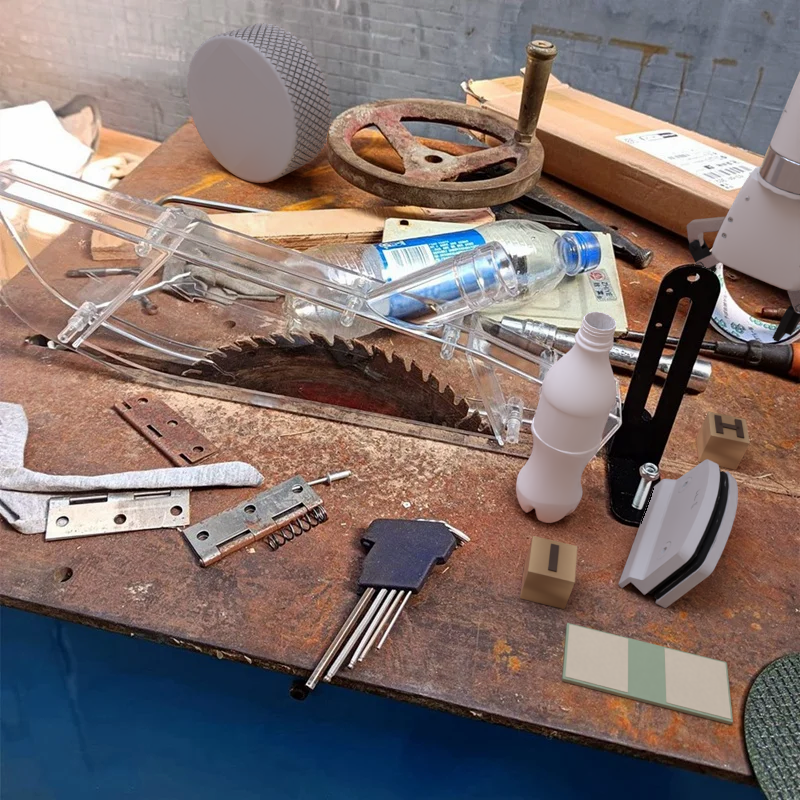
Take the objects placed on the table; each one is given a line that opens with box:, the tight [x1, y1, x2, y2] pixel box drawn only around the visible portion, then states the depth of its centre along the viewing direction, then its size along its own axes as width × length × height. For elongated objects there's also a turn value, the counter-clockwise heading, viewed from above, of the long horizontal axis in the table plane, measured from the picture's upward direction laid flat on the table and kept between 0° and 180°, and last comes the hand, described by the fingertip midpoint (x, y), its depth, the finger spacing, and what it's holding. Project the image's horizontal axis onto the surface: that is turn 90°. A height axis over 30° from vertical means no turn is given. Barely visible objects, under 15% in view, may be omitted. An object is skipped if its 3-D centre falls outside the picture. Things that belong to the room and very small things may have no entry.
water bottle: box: [515, 311, 617, 524], centre depth 77 cm, size 7×7×25 cm
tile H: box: [695, 411, 751, 471], centre depth 92 cm, size 4×4×5 cm
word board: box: [561, 622, 734, 725], centre depth 70 cm, size 15×6×1 cm, turn 77°
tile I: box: [519, 535, 579, 610], centre depth 75 cm, size 4×4×5 cm
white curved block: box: [618, 459, 739, 609], centre depth 79 cm, size 17×5×10 cm, turn 153°
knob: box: [186, 22, 333, 184], centre depth 135 cm, size 25×10×25 cm, turn 58°
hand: (737, 317), depth 85 cm, fingers open, 9 cm apart
